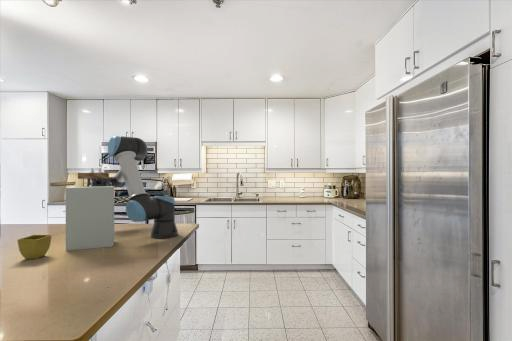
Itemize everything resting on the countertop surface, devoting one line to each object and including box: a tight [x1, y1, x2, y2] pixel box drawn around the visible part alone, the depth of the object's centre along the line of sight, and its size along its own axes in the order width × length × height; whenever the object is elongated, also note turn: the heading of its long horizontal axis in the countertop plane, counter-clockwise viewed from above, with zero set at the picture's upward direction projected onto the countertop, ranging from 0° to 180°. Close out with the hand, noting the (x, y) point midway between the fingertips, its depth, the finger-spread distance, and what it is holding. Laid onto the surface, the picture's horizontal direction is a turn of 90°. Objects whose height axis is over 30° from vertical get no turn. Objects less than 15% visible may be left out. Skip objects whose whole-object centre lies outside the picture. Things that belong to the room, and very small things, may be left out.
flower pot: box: [16, 234, 52, 260], centre depth 125 cm, size 9×9×9 cm
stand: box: [65, 185, 115, 252], centre depth 143 cm, size 20×10×30 cm, turn 112°
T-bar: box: [77, 172, 110, 180], centre depth 160 cm, size 14×21×3 cm, turn 22°
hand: (95, 170), depth 158 cm, fingers closed on T-bar, 3 cm apart
